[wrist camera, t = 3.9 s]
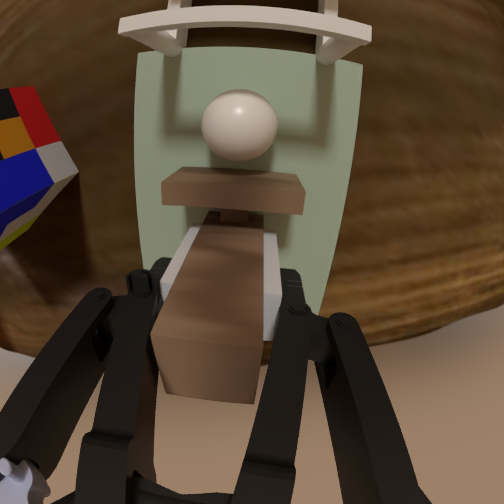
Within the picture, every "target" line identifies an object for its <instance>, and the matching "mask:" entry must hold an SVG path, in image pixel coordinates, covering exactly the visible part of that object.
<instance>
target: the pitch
mask: <svg viewBox="0 0 504 504" xmlns="http://www.w3.org/2000/svg"><path fill="white" fill-rule="evenodd" d="M191 6H192V0H169V2H168V8H167V10H161V11H155V12H149V13H144V14H138V15H134V16H129V17H125V18H120V23H119V29H118V34H120V35H122V36H125V37H128V36H129V37H130V38H132V39H134V40H136V41H139V42H141V43H143V44H145V45H147V46H149V47H151V48H153V49H155V50H157V51H150V52H143V53H138V61H137V73H136V87H135V109H134V163H135V186H136V202H137V214H138V225H139V235H140V244H141V252H142V260H143V267H144V269H146V270H149V271H150V269H151V268H152V266H153V264H154V263H155V261H157V260H158V259H160V258H161V257H167V258H173V257H174V255H175V253H176V251H177V249H178V248H179V246H180V244H181V242H182V241H183V239H184V237H185V236H186V234H187V232H188V230H189V229H190V227H191V225H192V224H193V222H199V223H203V221H204V219H205V218H206V216H207V214H208V212H209V211H220V210H221V208H207V207H190V206H172V205H162V197H161V182H162V181H163V180H165V179H166V178H167V177H169V176H170V175H171V174H173V173H174V172H176V171H177V170H178V169H180V168H181V167H183V166H184V167H212V168H230V169H245V170H258V171H269V172H280V173H289V174H296V175H297V176H298V178H299V180H300V182H301V184H302V186H303V187H304V189H305V191H306V195H305V202H304V209H303V215H293V214H283V213H272V212H261V211H249V214H259V215H264V228H265V229H275V230H276V236H277V246H278V256H279V266H280V268H286V269H296V271H297V272H298V273H299V274H300V276H301V280H302V285H303V286H302V287H303V290H304V295H305V301H306V304H308V305H309V307H310V308H311V311H312V313H314V314H316V315H318V313H319V309H320V306H321V302H322V299H323V295H324V291H325V287H326V284H327V280H328V276H329V272H330V268H331V264H332V260H333V255H334V251H335V247H336V242H337V238H338V233H339V229H340V224H341V219H342V214H343V209H344V204H345V199H346V194H347V188H348V182H349V177H350V171H351V165H352V158H353V152H354V145H355V137H356V130H357V122H358V114H359V104H360V94H361V83H362V70H363V65H361V64H357V63H353V62H349V61H345V60H340V58H341V57H343V56H345V55H346V54H348V53H349V52H351V51H352V50H354V49H355V48H357V47H358V46H360V45H364V46H365V45H367V44H368V43H370V42H371V29H372V26H369V25H366V24H362V23H359V22H355V21H351V20H347V19H343V18H339V17H338V0H318V13H314V12H308V11H302V10H294V9H286V8H277V7H265V6H243V5H220V6H198V7H191ZM201 27H252V28H268V29H279V30H288V31H296V32H303V33H309V34H315V35H316V49H315V54H308V53H302V52H294V51H286V50H277V49H266V48H251V47H193V48H187V47H186V45H187V36H188V28H201ZM234 89H246V90H251V91H254V92H256V93H258V94H260V95H262V96H263V97H264V98H266V99H267V100H268V101H269V103H270V104H271V105H272V107H273V108H274V110H275V113H276V116H277V121H278V128H277V134H276V137H275V139H274V141H273V143H272V145H271V146H270V147H269V148H268V150H267V151H265V152H264V153H263V154H262V155H260V156H258V157H257V158H254V159H252V160H248V161H231V160H227V159H224V158H222V157H220V156H218V155H217V154H215V153H214V152H213V151H212V150H211V149H210V148H209V147H208V145H207V144H206V142H205V140H204V138H203V134H202V129H201V123H202V117H203V114H204V111H205V109H206V108H207V106H208V105H209V103H210V102H211V101H212V100H213V99H214V98H215V97H217V96H218V95H220V94H221V93H224V92H226V91H229V90H234Z"/></svg>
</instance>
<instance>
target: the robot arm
mask: <svg viewBox="0 0 504 504" xmlns="http://www.w3.org/2000/svg"><path fill="white" fill-rule="evenodd" d="M201 225H202V223H199V222H193V224H192V225H191V227H190V229H189V230H188V232H187V234H186V236H185V237H184V239H183V241H182V242H181V244H180V246H179V248H178V249H177V251H176V253H175V255H174V257H173V258H167V257H161V258H160V259H158V260H157V261H155V263H154V264H153V266H152V268H151V269H150V271H149V270H146V269H138V270H134V271H131V272H130V273H128V274H127V276H126V283H127V288H128V295H124V296H112V293H111V291H110V290H109V289H106V288H96V289H93V290H91V291H90V292H88V293H87V294H86V295H85V297H84V298H83V299H82V300H81V301H80V302H79V304H78V305H77V306H76V307H75V308H74V310H73V311H72V312H71V313H70V314H69V316H68V317H67V318H66V319H65V321H64V322H63V323H62V324H61V326H60V327H59V328H58V329H57V331H56V332H55V333H54V334H53V336H52V337H51V338H50V340H49V341H48V342H47V344H46V345H45V346H44V348H43V349H42V350H41V352H40V353H39V354H38V356H37V357H36V358H35V360H34V361H33V363H32V364H31V365H30V367H29V369H28V370H27V371H26V373H25V374H24V376H23V377H22V378H21V380H20V382H19V383H18V384H17V386H16V388H15V389H14V391H13V392H12V394H11V395H10V397H9V399H8V400H7V402H6V403H5V405H4V407H3V409H2V410H1V412H0V504H43V500H44V497H48V496H49V495H50V492H51V491H50V488H49V486H48V485H47V482H46V480H47V479H48V478H49V477H50V475H51V474H52V473H53V471H54V470H55V468H56V467H57V465H58V463H59V461H60V459H61V456H62V454H63V452H64V450H65V448H66V446H67V443H68V441H69V439H70V437H71V435H72V433H73V431H74V429H75V427H76V424H77V423H78V421H79V418H80V416H81V415H82V413H83V411H84V408H85V407H86V405H87V403H88V401H89V398H90V397H91V395H92V393H93V391H94V389H95V388H96V386H97V384H98V382H99V380H100V378H101V377H102V374H103V373H104V376H103V381H102V384H101V389H100V394H99V398H98V402H97V407H96V412H95V418H94V423H93V428H92V430H91V432H88V433H86V434H85V435H84V436H83V439H82V443H81V448H80V455H79V463H78V469H77V478H76V489H75V491H74V492H72V493H70V494H68V495H66V496H65V497H63V498H61V499H59V500H57V501H55V502H53V503H51V504H290V503H291V498H292V493H293V488H294V483H295V476H296V469H295V466H294V462H295V456H296V449H297V443H298V437H299V430H300V422H301V415H302V408H303V400H304V392H305V383H306V374H307V363H308V359H309V360H313V361H314V363H315V367H316V372H317V375H318V380H319V384H320V389H321V394H322V398H323V403H324V407H325V412H326V417H327V421H328V426H329V431H330V436H331V441H332V446H333V450H334V456H335V461H336V465H337V471H338V477H339V482H340V487H341V494H342V499H343V504H432V503H431V502H430V501H429V499H428V498H427V497H426V495H425V494H424V493H423V491H422V490H421V489H420V487H419V486H418V483H417V479H416V476H415V473H414V469H413V466H412V462H411V459H410V456H409V454H408V450H407V447H406V444H405V441H404V438H403V435H402V432H401V429H400V426H399V423H398V421H397V418H396V415H395V412H394V409H393V407H392V404H391V401H390V399H389V396H388V394H387V391H386V388H385V386H384V383H383V381H382V378H381V376H380V373H379V371H378V368H377V366H376V364H375V361H374V359H373V356H372V354H371V352H370V350H369V347H368V345H367V342H366V340H365V338H364V336H363V333H362V331H361V329H360V327H359V324H358V322H357V321H356V319H355V318H354V317H352V316H351V315H349V314H346V313H341V312H339V313H334V314H332V315H331V316H330V318H329V319H328V318H324V317H321V316H318V315H316V314H314V313H312V311H311V308H310V307H309V305H308V304H306V301H305V295H304V290H303V287H302V286H303V285H302V280H301V276H300V274H299V273H298V272H297V271H296V269H286V268H280V266H279V256H278V246H277V236H276V230H275V229H265V228H264V332H263V340H265V341H273V339H274V343H273V347H272V352H271V356H270V360H269V364H268V369H267V373H266V377H265V381H264V385H263V389H262V393H261V397H260V401H259V406H258V409H257V413H256V417H255V421H254V424H253V428H252V432H251V436H250V439H249V443H248V447H247V450H246V454H245V458H244V460H243V463H242V467H241V470H240V474H239V477H238V481H237V484H236V487H235V490H234V494H227V493H217V492H216V493H204V494H184V495H183V494H179V493H176V492H174V491H172V490H170V489H167V488H165V487H163V486H161V485H159V484H157V483H156V473H155V469H154V464H153V455H154V427H155V410H156V397H157V396H156V395H157V384H158V374H159V367H158V364H157V360H156V356H155V352H154V348H153V344H152V340H151V336H150V333H151V331H152V328H153V326H154V324H155V322H156V319H157V317H158V315H159V313H160V310H161V308H162V306H163V304H164V302H165V299H166V297H167V295H168V293H169V291H170V289H171V286H172V284H173V282H174V280H175V278H176V276H177V274H178V272H179V270H180V267H181V265H182V263H183V261H184V259H185V257H186V255H187V253H188V251H189V249H190V247H191V245H192V243H193V241H194V239H195V237H196V235H197V233H198V231H199V229H200V227H201ZM104 371H105V372H104Z"/></svg>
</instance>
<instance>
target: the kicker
mask: <svg viewBox="0 0 504 504" xmlns="http://www.w3.org/2000/svg"><path fill="white" fill-rule="evenodd" d="M305 195H306V191H305V189H304V187H303V186H302V184H301V182H300V180H299V178H298V176H297V175H296V174H289V173H280V172H269V171H258V170H245V169H230V168H212V167H184V166H183V167H181V168H180V169H178V170H177V171H176V172H174V173H173V174H171V175H170V176H169V177H167V178H166V179H165V180H163V181H162V182H161V197H162V205H172V206H190V207H207V208H221V210H220V211H209V212H208V214H207V216H206V218H205V219H204V221H203V223H202V225H201V227H200V229H199V231H198V233H197V235H196V237H195V239H194V241H193V243H192V245H191V247H190V249H189V251H188V253H187V255H186V257H185V259H184V261H183V263H182V265H181V267H180V270H179V272H178V274H177V276H176V278H175V280H174V282H173V284H172V286H171V289H170V291H169V293H168V295H167V297H166V299H165V302H164V304H163V306H162V308H161V310H160V313H159V315H158V317H157V319H156V322H155V324H154V326H153V328H152V331H151V333H150V336H151V340H152V344H153V348H154V352H155V356H156V360H157V364H158V367H159V371H160V375H161V378H162V382H163V385H164V388H165V392H166V393H167V394H172V395H178V396H185V397H191V398H197V399H205V400H213V401H221V402H231V403H243V404H254V401H255V395H256V389H257V383H258V378H259V371H260V365H261V359H262V353H263V332H264V215H259V214H249V211H261V212H272V213H283V214H293V215H303V209H304V202H305Z"/></svg>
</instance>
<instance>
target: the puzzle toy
mask: <svg viewBox="0 0 504 504" xmlns="http://www.w3.org/2000/svg"><path fill="white" fill-rule="evenodd" d="M78 172H79V171H78V170H77V168H76V166H75V165H74V163H73V161H72V159H71V158H70V156H69V154H68V152H67V151H66V149H65V147H64V145H63V144H62V142H61V140H60V138H59V136H58V134H57V132H56V131H55V129H54V127H53V125H52V123H51V121H50V119H49V117H48V115H47V113H46V111H45V109H44V107H43V105H42V103H41V101H40V98H39V96H38V94H37V92H36V90H35V87H34V86H30V87H16V88H6V89H0V251H1V250H2V249H3V248H4V247H6V246H7V245H8V244H9V243H11V242H12V241H13V240H15V239H16V238H17V237H19V236H20V235H21V234H23V233H24V232H25V231H27V230H28V229H29V228H30V227H31V225H32V224H33V223H34V222H35V220H36V219H37V218H38V217H39V215H40V214H41V213H42V212H43V211H44V209H45V208H46V207H47V206H48V205H49V203H50V202H51V201H52V200H53V199H54V198H55V197H56V196H57V194H58V193H59V192H60V191H61V190H62V189H63V188H64V187H65V186H66V185H67V184H68V183H69V182H70V181H71V180H72V178H73V177H74V176H75V175H76V174H77V173H78Z"/></svg>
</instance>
